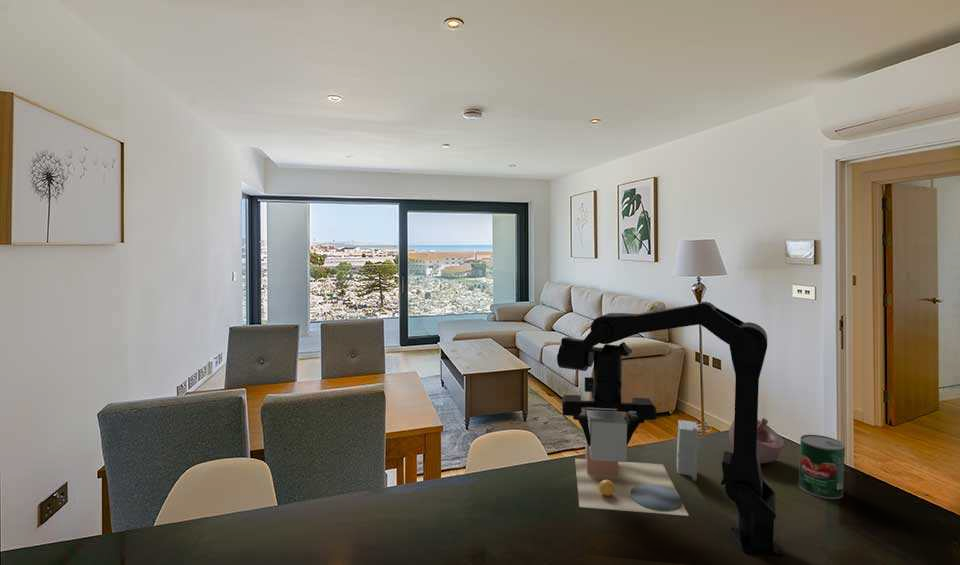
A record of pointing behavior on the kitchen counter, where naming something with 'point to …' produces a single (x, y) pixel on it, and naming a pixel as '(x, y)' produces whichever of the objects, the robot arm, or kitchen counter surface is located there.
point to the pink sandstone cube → (599, 464)
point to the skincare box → (687, 448)
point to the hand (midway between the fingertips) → (606, 446)
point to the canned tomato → (821, 466)
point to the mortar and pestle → (764, 442)
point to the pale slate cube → (608, 436)
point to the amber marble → (606, 487)
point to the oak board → (630, 489)
